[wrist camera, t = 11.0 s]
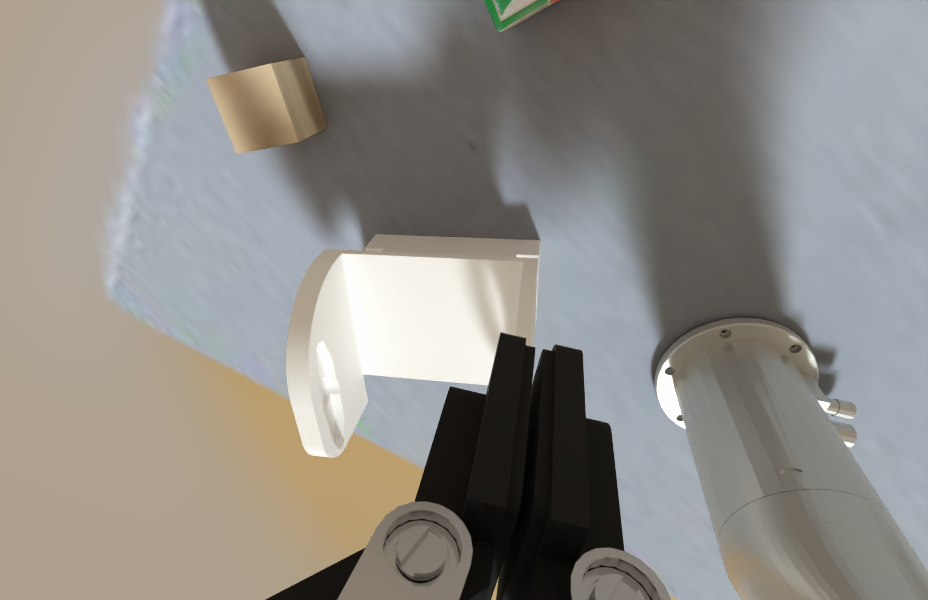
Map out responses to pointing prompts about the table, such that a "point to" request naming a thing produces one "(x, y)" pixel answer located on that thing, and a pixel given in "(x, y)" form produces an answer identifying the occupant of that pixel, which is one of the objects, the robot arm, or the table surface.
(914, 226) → the table surface
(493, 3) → the stack of blocks
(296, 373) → the white plastic bracket
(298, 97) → the beech block
